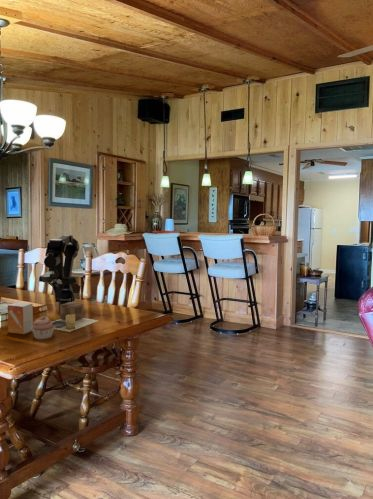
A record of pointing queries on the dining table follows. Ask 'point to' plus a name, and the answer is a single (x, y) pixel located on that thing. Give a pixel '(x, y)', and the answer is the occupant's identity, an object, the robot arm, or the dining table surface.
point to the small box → (20, 317)
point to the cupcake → (43, 328)
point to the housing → (71, 310)
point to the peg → (70, 321)
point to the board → (79, 323)
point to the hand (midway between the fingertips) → (57, 297)
